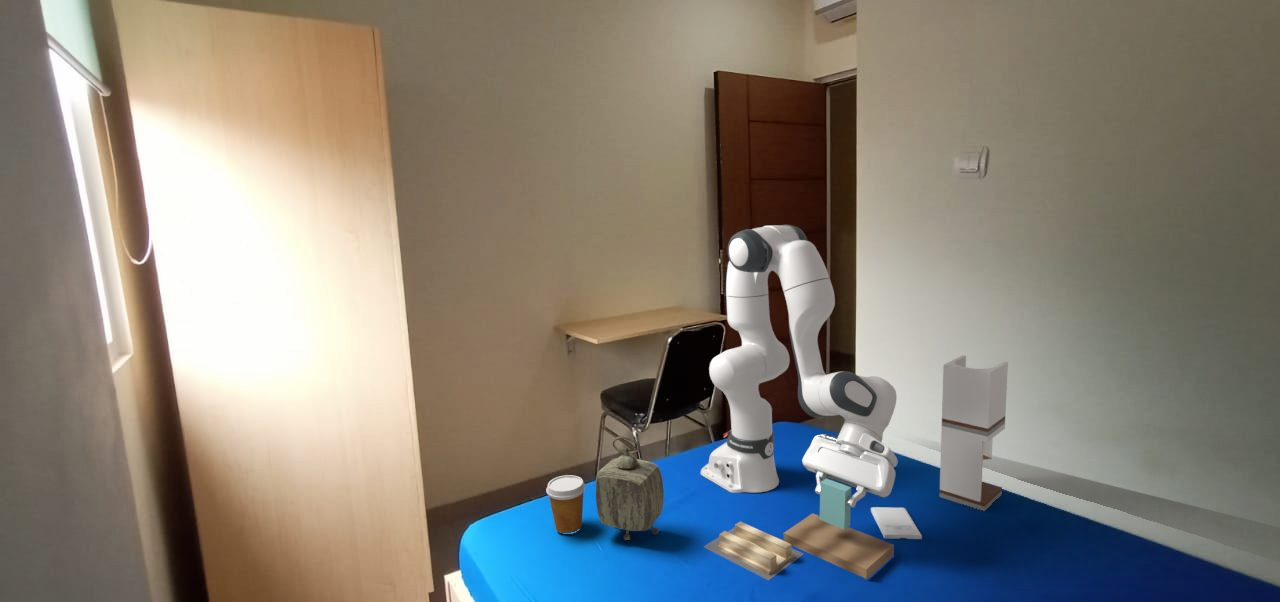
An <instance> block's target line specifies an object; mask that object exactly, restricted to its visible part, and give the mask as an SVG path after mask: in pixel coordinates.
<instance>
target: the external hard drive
mask: <svg viewBox="0 0 1280 602" xmlns="http://www.w3.org/2000/svg"><path fill="white" fill-rule="evenodd" d="M870 512H871V514H872V517H873V518H874V521H875V522H876V524H877V526H878V528H879V530H880V532H881V535H882V536H883V539H893V540H894V539H898V540H900V539H907V540H922V539H923V535H922V534H921V532H920V531H919V529H918V527H917V525H916V524H915V522H914V521H913V518H912V517H911V516H910V514H909V512H908V511H907V509H906V508H905V507H891V506H890V507H886V506H885V507H882V506H881V507H878V506H876V507H874V506H873V507H870Z"/></svg>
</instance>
